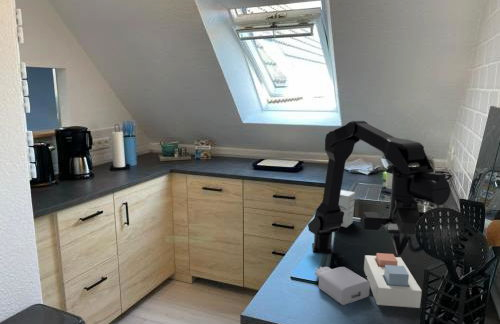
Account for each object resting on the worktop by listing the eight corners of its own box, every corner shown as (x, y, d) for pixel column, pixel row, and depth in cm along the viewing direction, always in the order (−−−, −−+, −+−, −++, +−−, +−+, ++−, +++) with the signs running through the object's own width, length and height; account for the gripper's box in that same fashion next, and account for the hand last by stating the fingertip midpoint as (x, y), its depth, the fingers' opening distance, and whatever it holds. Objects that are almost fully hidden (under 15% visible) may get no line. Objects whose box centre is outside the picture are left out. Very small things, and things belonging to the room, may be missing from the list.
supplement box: (328, 224, 148) (330, 192, 145) (335, 218, 154) (337, 188, 151) (346, 228, 144) (348, 196, 141) (353, 222, 150) (355, 191, 147)
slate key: (383, 281, 98) (384, 264, 97) (401, 282, 98) (403, 266, 97) (387, 290, 94) (389, 273, 93) (407, 291, 93) (408, 274, 92)
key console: (363, 269, 111) (364, 255, 110) (399, 272, 109) (400, 257, 109) (377, 304, 93) (378, 287, 92) (419, 307, 92) (421, 290, 91)
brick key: (375, 267, 108) (376, 253, 107) (391, 268, 108) (393, 254, 107) (378, 275, 104) (380, 260, 103) (396, 276, 103) (397, 261, 102)
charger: (329, 272, 109) (368, 297, 96) (304, 279, 105) (341, 306, 92) (330, 256, 108) (370, 280, 95) (304, 263, 104) (342, 288, 91)
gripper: (370, 201, 85) (366, 267, 87) (458, 205, 83) (451, 272, 85) (361, 189, 95) (358, 248, 98) (439, 192, 93) (433, 251, 96)
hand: (398, 254), depth 94 cm, fingers closed
